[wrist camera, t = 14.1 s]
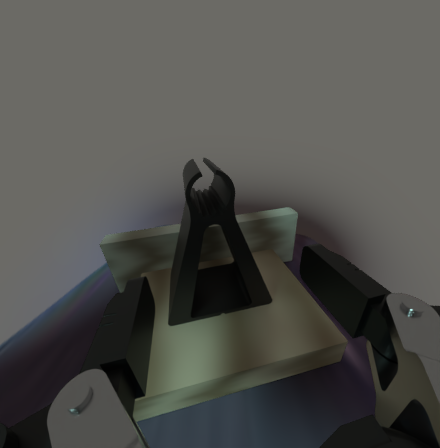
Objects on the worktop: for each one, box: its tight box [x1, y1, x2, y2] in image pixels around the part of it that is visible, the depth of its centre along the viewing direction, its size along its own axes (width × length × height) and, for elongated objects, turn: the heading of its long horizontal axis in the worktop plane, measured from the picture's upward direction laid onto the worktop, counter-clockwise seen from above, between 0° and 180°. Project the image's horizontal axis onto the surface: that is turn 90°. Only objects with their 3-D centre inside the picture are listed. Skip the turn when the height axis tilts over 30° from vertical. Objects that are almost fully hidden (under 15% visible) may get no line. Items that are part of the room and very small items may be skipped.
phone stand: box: [168, 158, 272, 326], centre depth 16 cm, size 9×6×12 cm, turn 101°
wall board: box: [100, 207, 348, 422], centre depth 18 cm, size 22×14×7 cm, turn 102°
